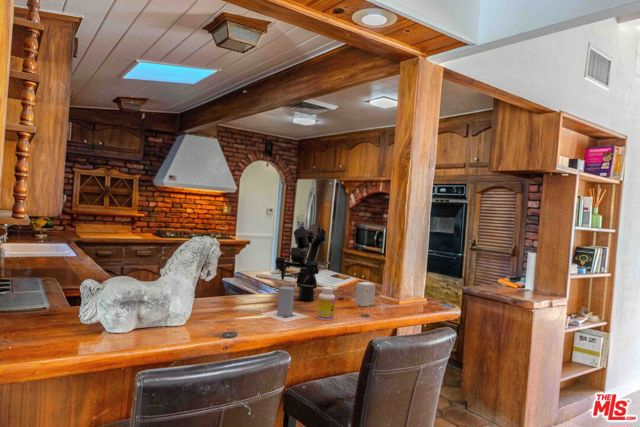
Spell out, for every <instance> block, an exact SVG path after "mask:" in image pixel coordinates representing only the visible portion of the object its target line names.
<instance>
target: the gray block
mask: <svg viewBox="0 0 640 427" xmlns="http://www.w3.org/2000/svg"><path fill="white" fill-rule="evenodd" d="M295 289H296V288H295V287H294V286H293V287H292V286H284V285H282V286H281V287H279V288H278V298H277V299H278V301H277V309H276V310H277V316H283V317H290V316H291V315H292V314H293V312H294V299H295Z"/></svg>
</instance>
